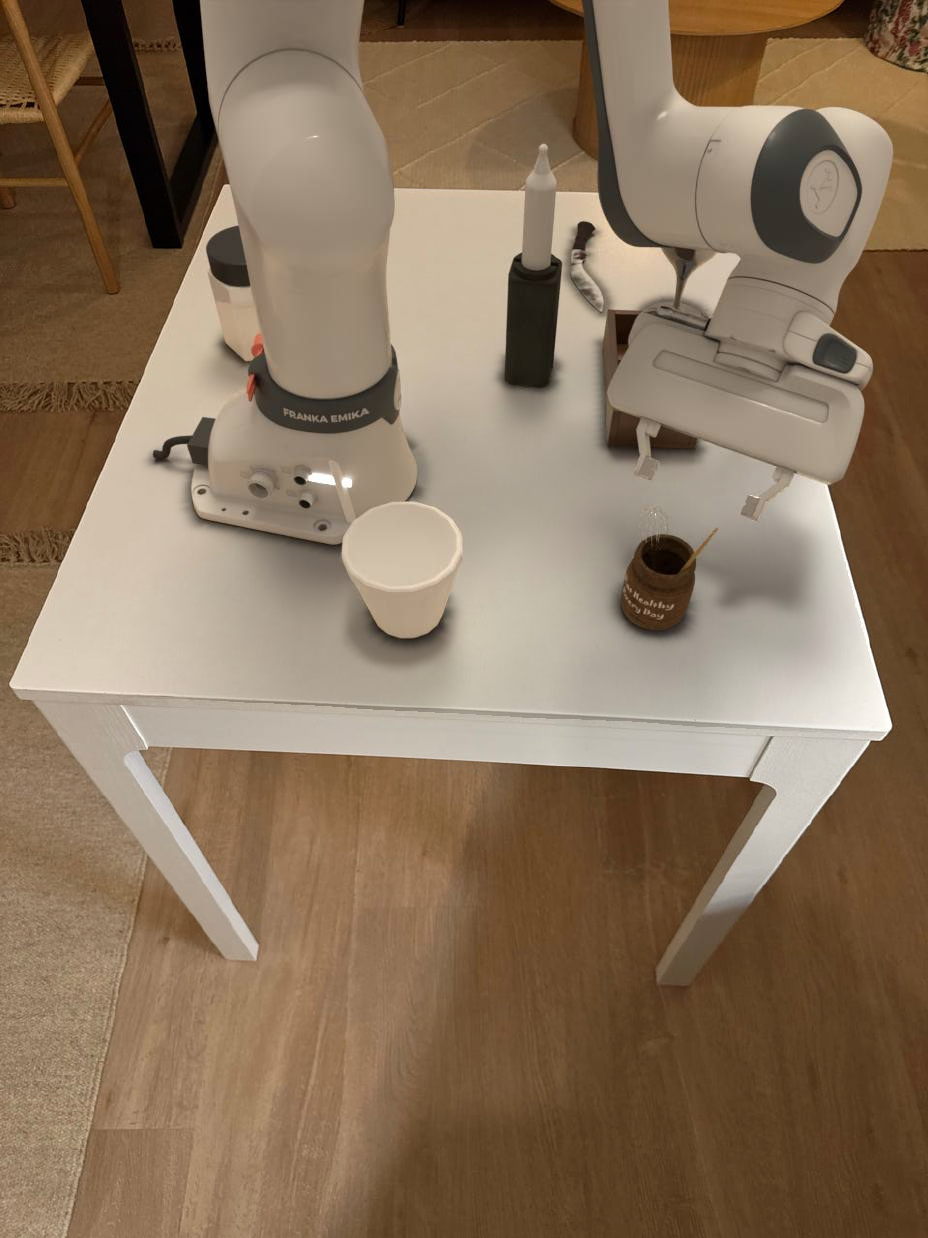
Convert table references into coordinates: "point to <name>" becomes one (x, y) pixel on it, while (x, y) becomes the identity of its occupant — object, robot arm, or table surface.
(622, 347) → the wooden divided box
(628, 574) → the utensil holder
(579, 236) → the knife
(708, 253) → the wine glass
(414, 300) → the table surface
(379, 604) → the cup
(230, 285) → the jar
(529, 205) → the candle
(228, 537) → the table surface
